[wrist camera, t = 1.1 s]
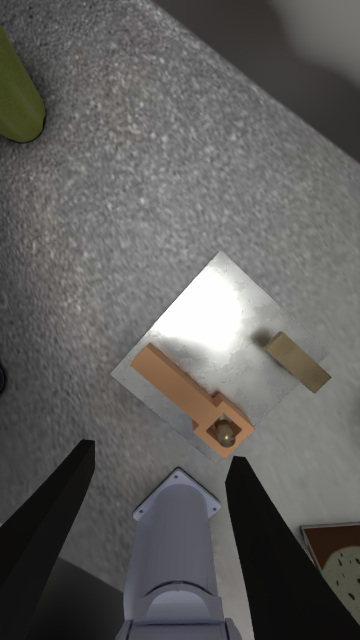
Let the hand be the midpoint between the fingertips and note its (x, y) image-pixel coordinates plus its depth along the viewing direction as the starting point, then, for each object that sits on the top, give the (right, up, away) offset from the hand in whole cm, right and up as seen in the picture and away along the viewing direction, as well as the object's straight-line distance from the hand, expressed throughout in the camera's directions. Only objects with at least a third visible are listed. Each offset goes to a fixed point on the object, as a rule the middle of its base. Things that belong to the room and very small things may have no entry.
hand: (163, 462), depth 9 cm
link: (+2, -2, +13) cm, 13 cm away
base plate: (+5, +2, +13) cm, 15 cm away
